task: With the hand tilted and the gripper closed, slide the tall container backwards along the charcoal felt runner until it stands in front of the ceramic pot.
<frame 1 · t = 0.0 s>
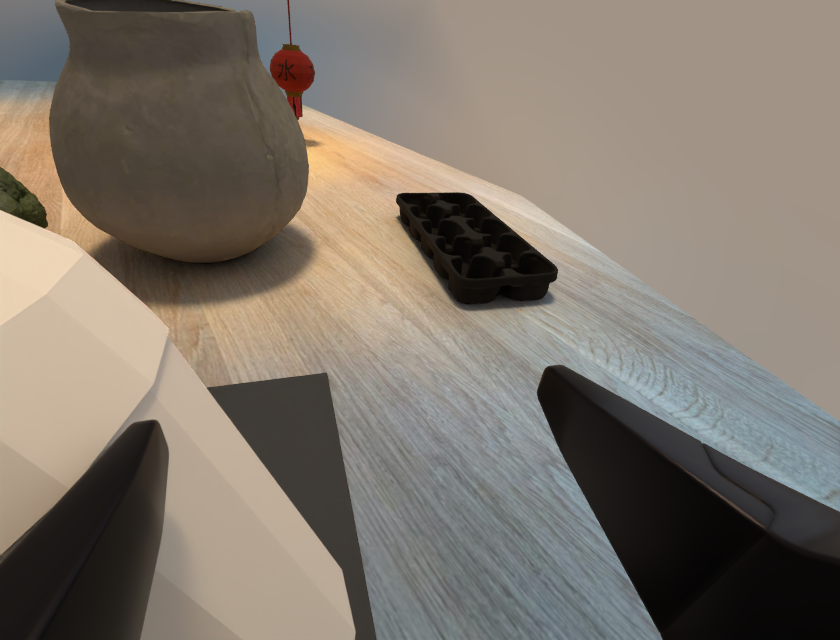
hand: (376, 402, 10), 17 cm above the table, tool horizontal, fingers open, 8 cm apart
ceramic pot: (211, 249, 53), on the table
runner: (200, 610, 21), on the table
lantern: (297, 145, 101), on the table
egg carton: (461, 252, 59), on the table
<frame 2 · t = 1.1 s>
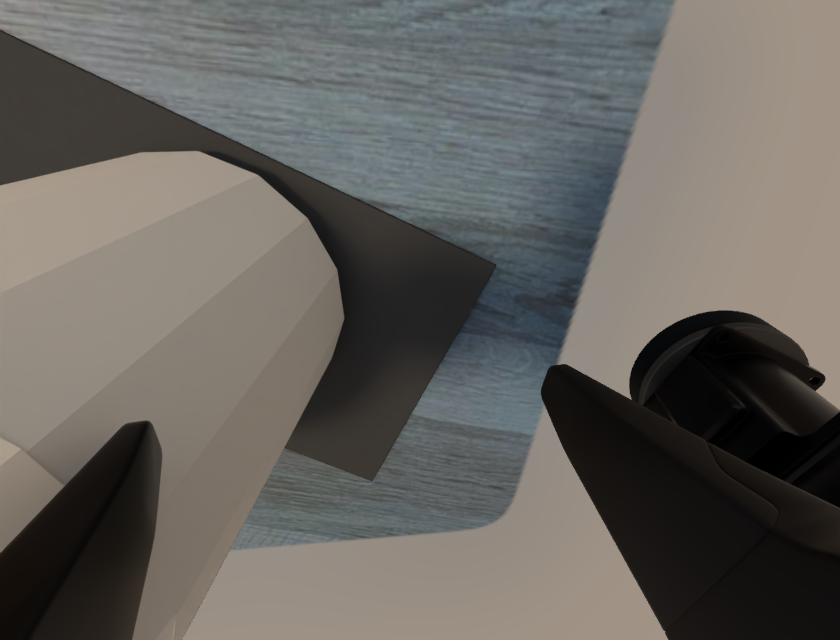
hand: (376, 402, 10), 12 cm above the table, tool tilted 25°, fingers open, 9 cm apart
container: (215, 288, 21), point 1 cm above the table, touching gripper, runner
runner: (141, 268, 22), on the table
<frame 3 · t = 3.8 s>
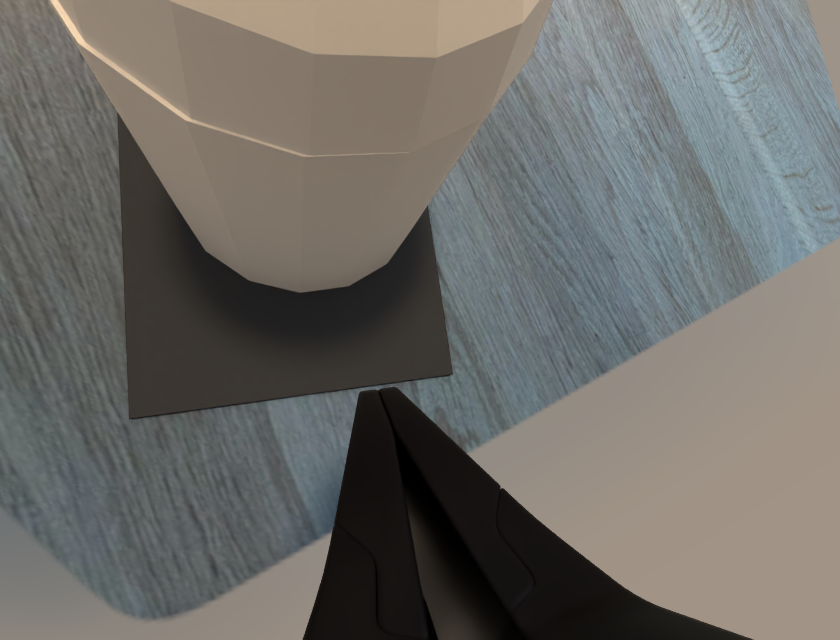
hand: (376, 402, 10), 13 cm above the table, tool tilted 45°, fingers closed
container: (305, 178, 24), resting on runner
runner: (280, 113, 24), on the table
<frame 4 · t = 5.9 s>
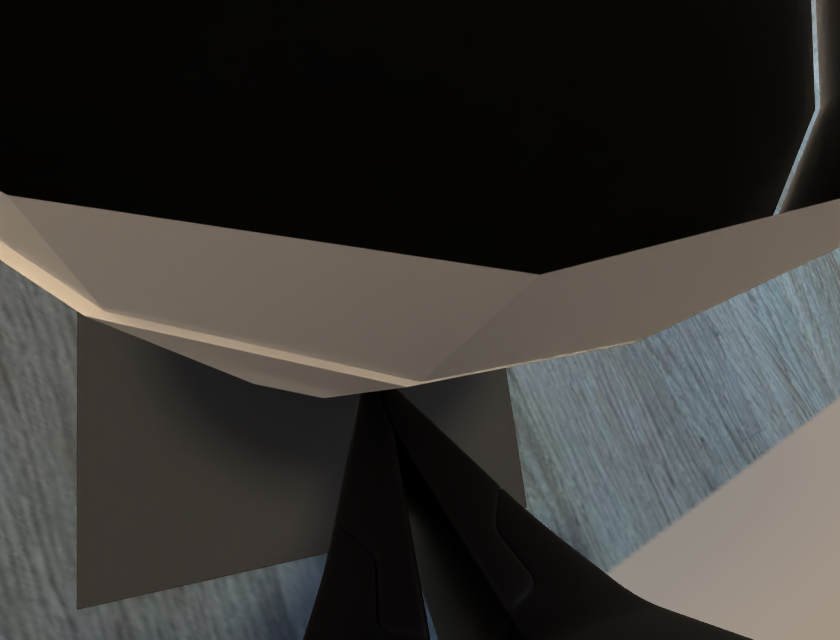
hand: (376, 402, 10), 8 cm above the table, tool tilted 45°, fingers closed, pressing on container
container: (332, 237, 18), resting on runner, touching gripper
runner: (300, 153, 18), on the table
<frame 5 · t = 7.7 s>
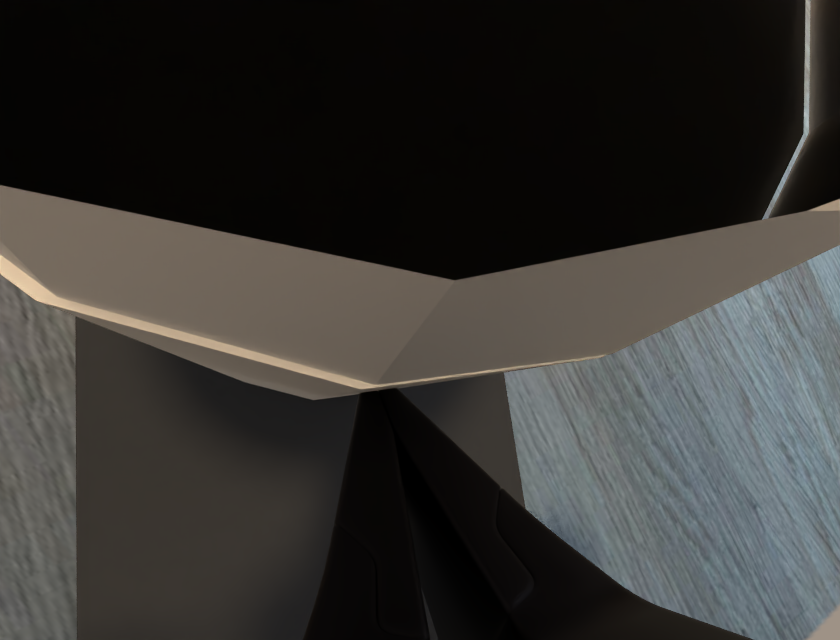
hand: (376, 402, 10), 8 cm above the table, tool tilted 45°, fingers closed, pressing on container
container: (331, 240, 18), on the table, touching gripper
runner: (316, 362, 17), on the table
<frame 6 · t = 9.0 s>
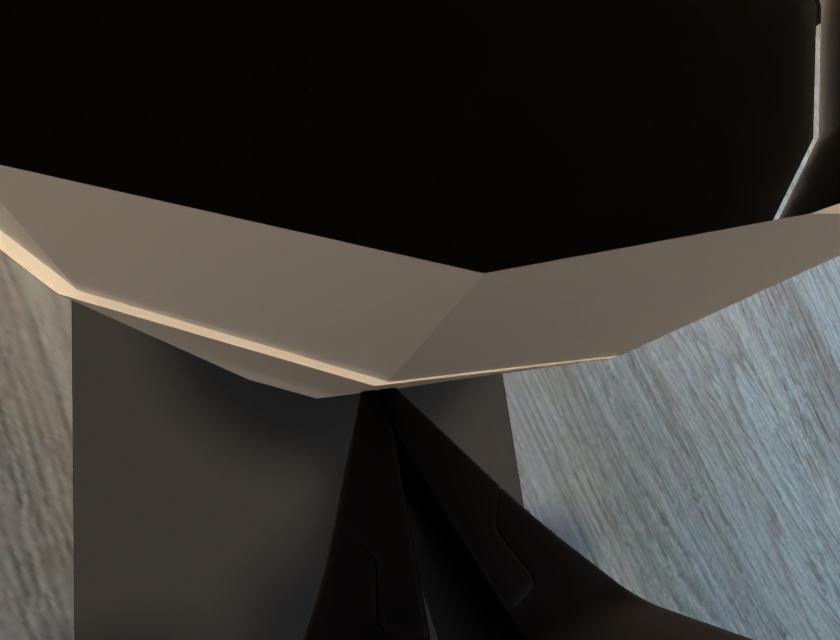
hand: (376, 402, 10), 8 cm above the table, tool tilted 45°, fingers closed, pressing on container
container: (336, 239, 18), resting on runner, touching gripper
runner: (329, 521, 16), on the table
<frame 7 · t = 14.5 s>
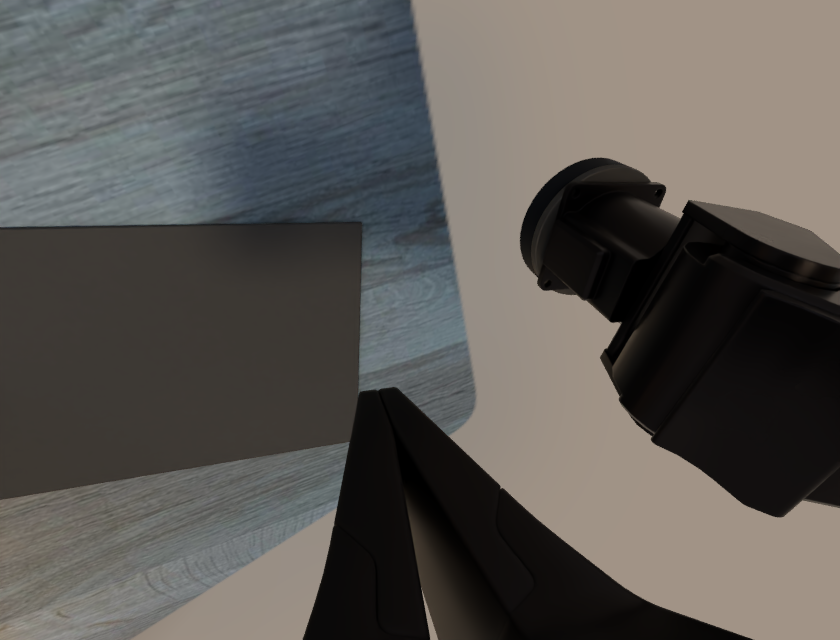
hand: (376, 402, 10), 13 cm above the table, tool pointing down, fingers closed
runner: (31, 383, 21), on the table
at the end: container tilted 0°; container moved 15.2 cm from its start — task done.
